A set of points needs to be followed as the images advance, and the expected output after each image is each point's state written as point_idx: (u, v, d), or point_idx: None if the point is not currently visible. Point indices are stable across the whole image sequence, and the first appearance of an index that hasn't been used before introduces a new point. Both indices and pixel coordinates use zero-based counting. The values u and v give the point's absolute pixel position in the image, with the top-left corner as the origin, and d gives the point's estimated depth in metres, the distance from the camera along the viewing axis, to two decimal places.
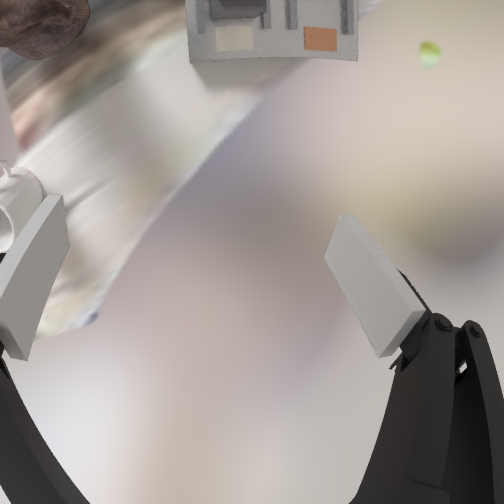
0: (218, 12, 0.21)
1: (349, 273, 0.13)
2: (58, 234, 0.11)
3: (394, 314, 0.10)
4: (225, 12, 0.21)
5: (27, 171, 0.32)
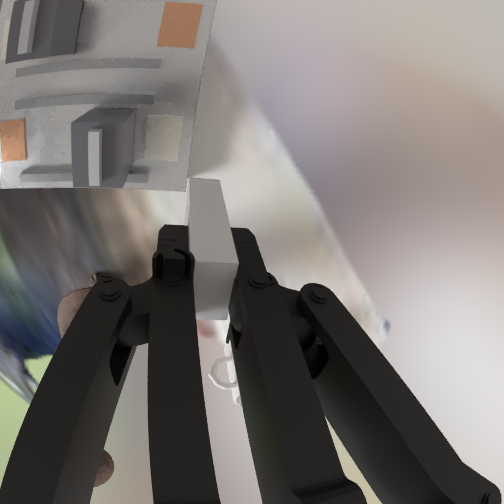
0: (121, 182, 0.20)
1: None
2: None
3: None
4: (122, 173, 0.20)
5: None
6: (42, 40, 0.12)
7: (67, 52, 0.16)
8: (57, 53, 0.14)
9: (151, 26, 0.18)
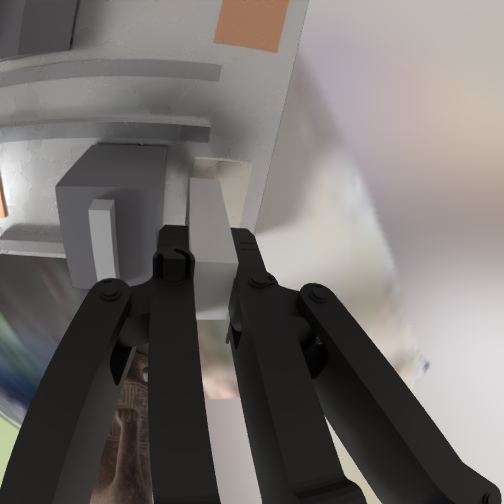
0: None
1: None
2: None
3: None
4: None
5: None
6: (4, 26, 0.05)
7: (55, 47, 0.08)
8: (34, 49, 0.07)
9: (205, 8, 0.10)
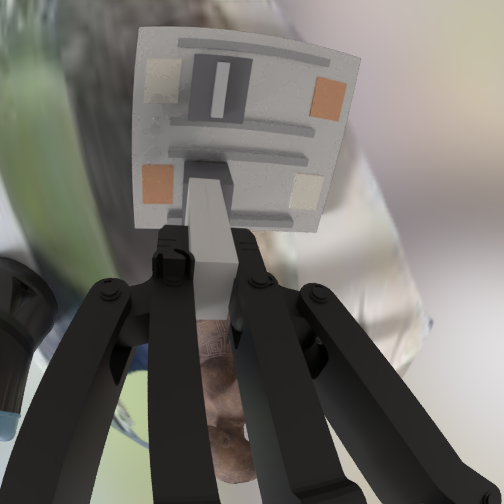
0: None
1: None
2: None
3: None
4: None
5: None
6: (234, 106, 0.20)
7: None
8: None
9: (305, 97, 0.25)
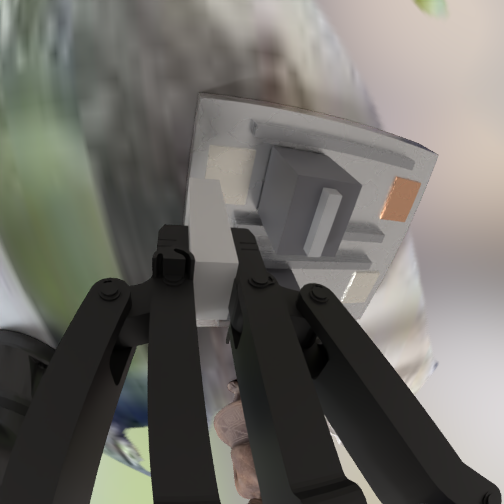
0: None
1: None
2: None
3: None
4: None
5: None
6: (330, 239, 0.18)
7: None
8: None
9: (380, 199, 0.23)
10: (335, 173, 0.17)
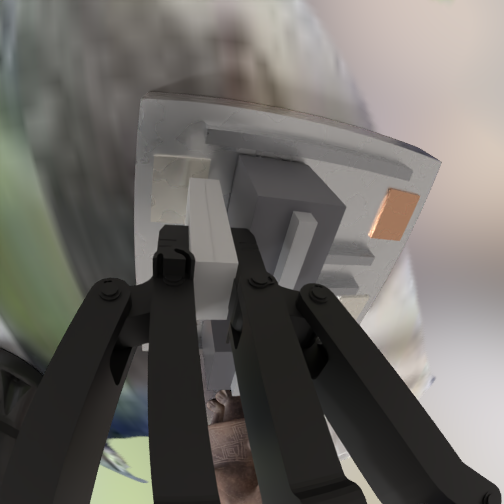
0: None
1: None
2: None
3: None
4: None
5: None
6: (305, 273, 0.15)
7: None
8: None
9: (370, 215, 0.20)
10: (312, 190, 0.13)
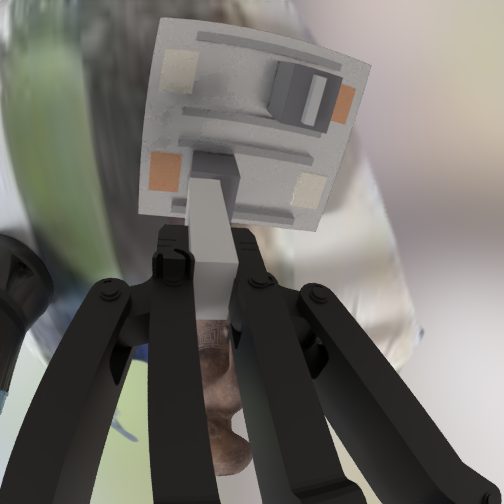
0: (229, 223, 0.27)
1: None
2: None
3: None
4: (231, 216, 0.26)
5: None
6: (322, 117, 0.22)
7: None
8: None
9: None
10: None
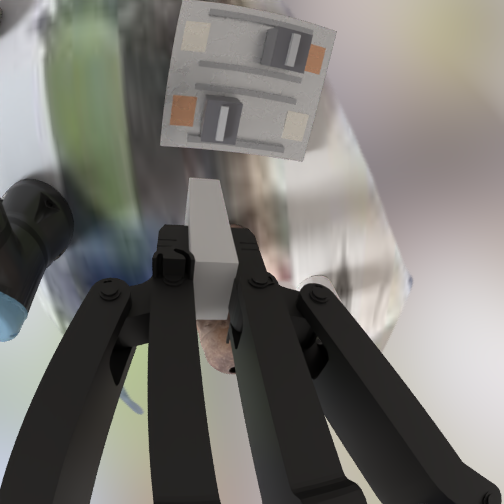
0: (235, 140, 0.33)
1: None
2: None
3: None
4: (236, 135, 0.33)
5: (306, 281, 0.60)
6: (299, 62, 0.29)
7: None
8: None
9: None
10: None
